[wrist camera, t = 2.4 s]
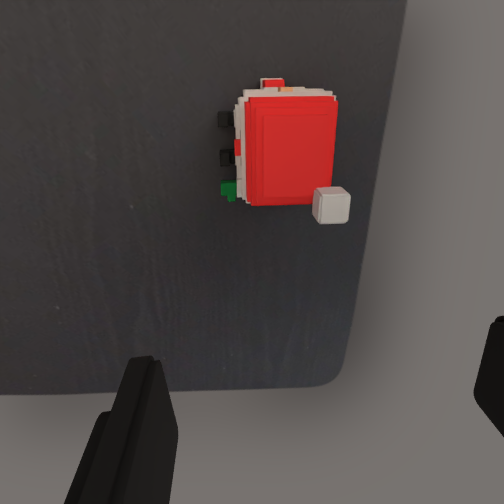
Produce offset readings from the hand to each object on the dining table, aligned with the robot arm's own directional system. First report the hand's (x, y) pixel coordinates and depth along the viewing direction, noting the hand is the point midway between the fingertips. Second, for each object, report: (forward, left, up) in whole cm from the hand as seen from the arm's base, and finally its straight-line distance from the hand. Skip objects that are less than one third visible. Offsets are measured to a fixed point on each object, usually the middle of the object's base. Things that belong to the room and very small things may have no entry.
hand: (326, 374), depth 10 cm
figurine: (-1, -4, -22) cm, 23 cm away
